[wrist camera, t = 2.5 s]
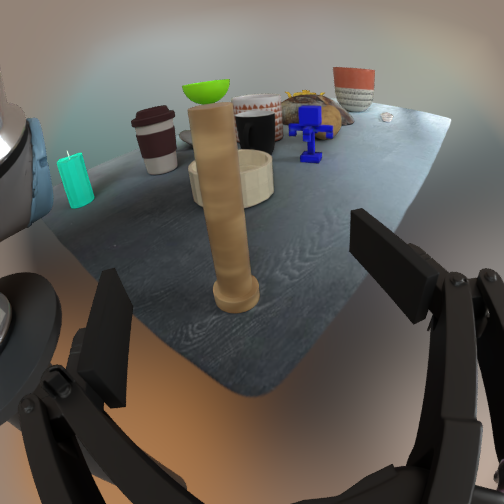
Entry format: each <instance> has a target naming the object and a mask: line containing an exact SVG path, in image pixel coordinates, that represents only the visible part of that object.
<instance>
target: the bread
mask: <svg viewBox="0 0 504 504" xmlns="http://www.w3.org/2000/svg"><path fill="white" fill-rule="evenodd" d="M302 105H314V106H321V107H324V106H327V105H331V106H334V107H336V108H337V109H338V110H339V112H340V115H341V124H342V125H347V124H349V123H350V124H351V123H353V122H354V119H353V117H352V116H351V115H350V114H349V113H348V112H347V111H346V110H345V109H344V108H343V107H341V106H340V105H339V104H338V103H336V102H334V101H333V100H331V99H329V98H327V97H325V96H322V95H315V94H305V95H298V96H293V97H290V98H288V99H287V100H285V101H283V102H281V107H282V124H287V125H289V124H290V123H294V122H295V123H298V122H299V108H298V107H300V106H302ZM350 124H349V125H350ZM342 125H341V126H342Z"/></svg>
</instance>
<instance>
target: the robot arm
mask: <svg viewBox="0 0 504 504" xmlns="http://www.w3.org/2000/svg"><path fill="white" fill-rule="evenodd" d="M52 205H53V189H52V182H51V176H50V170H49V165H48V162H47V156H46V148H45V143H44V138H43V133H42V129H41V126H40V122H39V120H38V119H37V118H27V119H26V117H25V114H24V111H23V110H22V109H21V107H19V106H18V105H15V104H13V103H8V102H7V99H6V94H5V90H4V85H3V80H2V74H1V69H0V242H1V241H3V240H4V239H6V238H8V237H10V236H12V235H14V234H15V233H17V232H19V231H21V230H23V229H25V228H28V227H30V226H31V225H32V223H34V222H35V221H37V220H38V219H40V218H42V217H43V216H45V215H47V214H48V213H49V212H50V210H51V208H52ZM349 252H350V253H351V254H352V255H353V256H354V257H355V258H356V259H357V260H358V262H359V263H360V264H361V265H362V266H363V267H364V268H365V269H366V270H367V271H368V273H369V274H370V275H371V276H372V277H373V278H374V279H375V280H376V281H377V283H378V284H379V285H380V286H381V287H382V288H383V289H384V290H385V292H386V293H387V294H388V295H389V296H390V297H391V298H392V300H393V301H394V302H395V303H396V304H397V306H398V307H399V308H400V309H401V310H402V311H403V313H404V314H405V315H406V316H407V317H408V319H409V320H410V321H411V322H412V323H413V324H416V323H418V322H420V321H422V320H424V319H425V318H426V315H427V312H428V310H430V311H431V312H432V314H433V315H432V318H431V321H430V323H429V326H428V329H427V331H429V330H430V328H431V332H430V349H429V360H428V370H427V378H426V386H425V393H424V399H423V405H422V412H421V417H420V422H419V428H418V432H417V437H416V441H415V445H414V447H413V449H412V452H411V454H410V455H409V458H408V461H407V464H406V466H401V467H394V466H393V464H391V465H389V466H387V467H385V468H383V469H381V470H379V471H377V472H375V473H372V474H370V475H368V476H366V477H365V478H363V479H362V480H360V481H359V482H358V483H356V484H355V485H353V486H352V487H351V488H349V489H348V490H347V491H345V492H343V493H342V494H340V495H338V496H334V497H327V498H319V499H309V500H302V501H299V502H296V503H292V504H504V283H503V281H502V279H501V277H500V276H499V275H498V273H497V272H495V271H494V270H491V269H487V268H485V269H482V270H480V272H479V275H478V278H471V279H467V278H466V276H464V275H463V274H461V273H458V272H450V273H449V272H447V271H446V270H445V269H444V268H443V267H442V266H441V265H440V264H438V263H437V262H436V261H435V260H434V259H433V258H431V257H430V256H429V255H428V254H426V252H424V251H423V250H422V249H421V248H420V247H418V246H416V245H413V244H411V243H409V244H406V243H405V242H404V241H403V240H402V239H400V238H399V237H398V236H397V235H395V234H394V233H393V232H392V231H391V230H389V229H388V228H387V227H386V226H384V225H383V224H382V223H381V222H379V221H378V220H377V219H375V218H374V217H373V216H372V215H370V214H369V213H368V212H366V211H365V210H364V209H363V208H360V209H356V210H351V221H350V249H349ZM488 311H489V313H488ZM132 312H133V305H132V303H131V301H130V299H129V297H128V295H127V293H126V291H125V289H124V287H123V285H122V282H121V280H120V278H119V276H118V274H117V272H116V269H115V268H112V269H108V270H104V271H102V273H101V277H100V280H99V283H98V286H97V290H96V294H95V297H94V300H93V304H92V307H91V311H90V315H89V318H88V322H87V326H86V328H81V329H79V330H78V331H77V333H76V334H75V336H74V338H73V342H72V348H71V349H70V355H69V358H68V362H67V366H66V369H65V368H64V367H63V366H62V365H53V366H51V367H49V368H48V369H47V370H46V371H45V372H44V373H43V375H42V377H41V382H40V383H41V387H42V388H43V389H44V390H45V391H46V392H47V393H48V394H49V395H48V396H46V397H44V398H42V399H40V398H39V397H37V396H36V395H35V394H31V393H30V394H27V395H25V396H24V397H23V398H22V399H21V401H20V403H19V406H18V414H19V420H20V426H21V431H22V436H23V440H24V445H25V449H26V453H27V457H28V461H29V465H30V469H31V472H32V476H33V479H34V482H35V485H36V488H37V491H38V494H39V497H40V500H41V503H42V504H106V503H105V501H104V499H103V497H102V495H101V493H100V491H99V489H98V487H97V485H96V483H95V481H94V479H93V477H92V474H91V472H90V470H89V468H88V466H87V463H86V461H85V459H84V456H83V454H82V451H81V449H80V446H79V444H78V441H77V439H76V436H75V435H77V437H78V438H79V440H80V441H81V442H82V444H83V445H84V447H85V448H86V449H87V451H88V452H89V453H90V455H91V456H92V457H93V458H94V460H95V461H96V462H97V464H98V465H99V466H100V467H101V468H102V470H103V471H104V472H105V473H106V475H107V476H108V477H109V478H110V479H111V480H112V482H113V483H114V484H115V485H116V486H117V487H118V488H119V489H120V490H121V491H122V493H123V494H124V495H125V496H126V497H127V498H128V499H129V500H130V501H131V502H132V503H133V504H204V503H203V502H201V501H200V500H199V499H198V498H196V497H195V496H194V495H192V494H191V493H190V492H188V491H187V490H186V489H185V488H184V487H182V486H181V485H180V484H179V483H177V482H176V481H175V480H174V479H173V478H171V477H170V476H169V475H168V474H167V473H166V472H165V471H163V470H162V469H161V468H160V467H159V466H158V465H157V464H156V463H155V462H154V461H152V460H151V459H150V458H149V457H148V456H147V455H146V454H145V453H144V452H143V451H142V450H141V449H140V448H139V447H138V446H137V445H136V444H135V443H134V442H133V441H132V440H131V439H130V438H129V437H128V436H127V435H126V434H125V433H124V432H123V431H122V430H121V428H120V427H119V426H118V425H117V424H116V423H115V422H114V421H113V420H112V418H111V417H110V416H109V415H108V414H107V413H106V412H105V411H104V402H105V403H106V404H107V405H108V407H110V408H120V407H126V387H127V367H128V353H129V341H130V331H131V321H132ZM14 324H15V312H14V309H13V307H12V306H11V304H10V303H9V301H8V299H7V298H6V297H5V296H4V295H3V294H2V293H1V292H0V355H1V353H2V352H3V350H4V349H5V347H6V345H7V343H8V342H9V339H10V337H11V335H12V332H13V328H14ZM477 359H478V363H479V367H480V370H481V374H482V378H483V383H484V387H485V392H486V396H487V401H488V406H489V412H490V417H491V423H492V430H493V438H494V444H495V450H496V454H497V458H498V461H499V467H498V470H497V471H496V472H495V474H494V481H495V482H496V483H498V488H497V490H493V489H488V488H485V487H481V486H477V485H475V482H476V476H477V471H478V465H479V458H480V451H481V441H482V432H483V429H482V428H483V427H482V423H481V422H480V421H477V418H476V413H477V388H478V383H477V382H478V369H477Z"/></svg>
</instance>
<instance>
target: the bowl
mask: <svg viewBox="0 0 504 504" xmlns="http://www.w3.org/2000/svg"><path fill="white" fill-rule="evenodd" d="M238 157H239V166H240V176H241V185H242V195H243V204H244V208H247V207H251V206H254V205H256V204H258V203H261V202H262V201H264V200H266V199H268V198H269V197H270V196H271V195H272V194H273V192H274V177H273V160H272V156H271V155H270V154H268V153H266V152H263V151H258V150H249V149H238ZM188 170H189V176H190V182H191V187H192V192H193V198H194V201H195V202H196V203H197V204H198V205H200V206H202V207H203V203H202V198H201V192H200V186H199V180H198V174H197V168H196V162H195V161H193V162H192V163H191V164H190V165H189V166H188Z"/></svg>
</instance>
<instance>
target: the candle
mask: <svg viewBox="0 0 504 504" xmlns="http://www.w3.org/2000/svg"><path fill="white" fill-rule="evenodd" d="M67 152H68V151H67ZM57 166H58V169H59V173H60V176H61V179H62V182H63V185H64V189H65V192H66V195H67V198H68V200H69V203H70V206H71V208H73V209H76V208H80V207H83V206H85V205H87V204H89V203H90V202H92V201H93V200H94V198H95V197H94V194H93V191H92V187H91V184H90V181H89V177H88V174H87V170H86V167H85V163H84V159H83V155H82V153H77V154H74V155H72V156H69V154H68V157H66V158H62V159H59V160H58V161H57Z"/></svg>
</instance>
